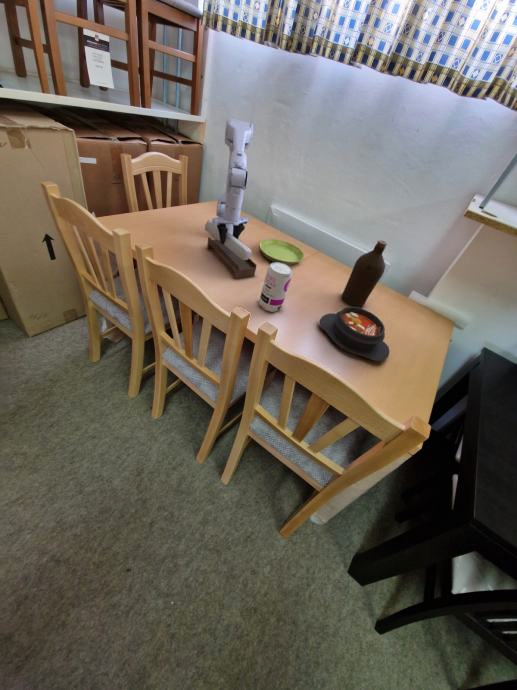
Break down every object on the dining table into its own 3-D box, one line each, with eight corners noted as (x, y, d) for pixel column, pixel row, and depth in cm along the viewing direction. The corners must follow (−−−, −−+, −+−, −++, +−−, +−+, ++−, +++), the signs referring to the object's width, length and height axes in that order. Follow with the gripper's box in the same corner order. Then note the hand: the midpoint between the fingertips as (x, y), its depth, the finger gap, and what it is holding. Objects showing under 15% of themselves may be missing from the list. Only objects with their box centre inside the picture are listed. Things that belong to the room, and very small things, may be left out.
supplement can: (283, 303, 106) (295, 267, 96) (277, 315, 100) (289, 278, 90) (263, 296, 107) (272, 258, 97) (255, 307, 101) (265, 268, 91)
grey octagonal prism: (256, 250, 108) (217, 221, 119) (246, 248, 104) (207, 217, 115) (250, 263, 110) (212, 233, 121) (240, 262, 106) (202, 230, 117)
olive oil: (367, 311, 115) (401, 252, 98) (342, 306, 113) (372, 245, 97) (361, 296, 123) (391, 238, 106) (337, 291, 121) (364, 232, 104)
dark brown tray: (224, 247, 128) (226, 236, 125) (254, 276, 115) (256, 264, 112) (207, 249, 124) (208, 237, 120) (235, 279, 111) (237, 267, 107)
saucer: (279, 272, 123) (281, 265, 120) (248, 248, 132) (250, 242, 130) (310, 263, 135) (313, 257, 133) (280, 242, 144) (282, 236, 142)
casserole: (393, 348, 101) (407, 329, 95) (374, 375, 89) (388, 356, 83) (332, 310, 110) (341, 292, 104) (307, 331, 97) (315, 311, 92)
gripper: (220, 211, 98) (216, 249, 107) (256, 210, 106) (249, 246, 115) (211, 202, 102) (207, 240, 111) (246, 203, 110) (240, 237, 119)
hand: (228, 242), depth 113 cm, fingers closed on grey octagonal prism, 5 cm apart
